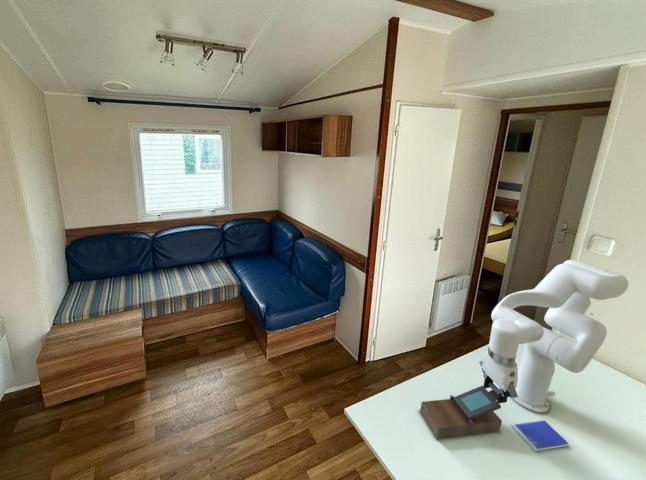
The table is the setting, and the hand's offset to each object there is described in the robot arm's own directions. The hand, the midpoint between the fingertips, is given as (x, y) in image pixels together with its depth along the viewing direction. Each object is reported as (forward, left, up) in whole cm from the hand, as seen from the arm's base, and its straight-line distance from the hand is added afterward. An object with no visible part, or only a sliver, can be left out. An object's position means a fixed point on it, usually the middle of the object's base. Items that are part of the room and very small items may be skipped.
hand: (494, 393), depth 104 cm
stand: (+12, 0, -11) cm, 17 cm away
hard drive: (-13, +8, -11) cm, 19 cm away
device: (+5, 0, -3) cm, 6 cm away
